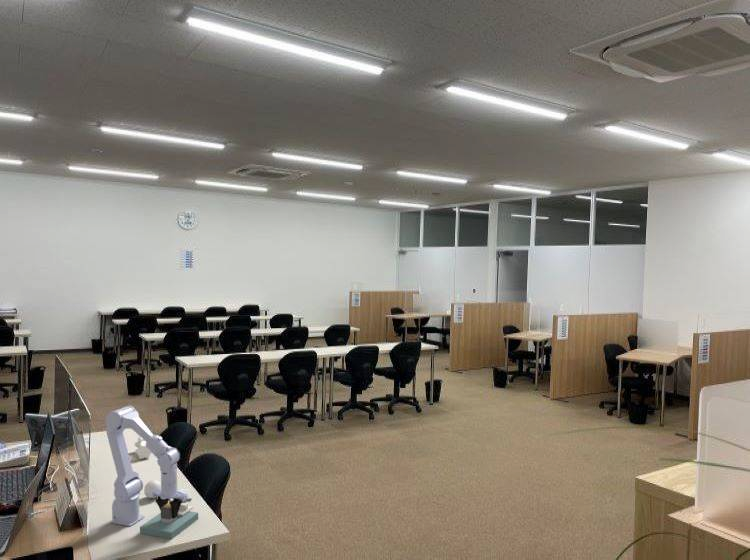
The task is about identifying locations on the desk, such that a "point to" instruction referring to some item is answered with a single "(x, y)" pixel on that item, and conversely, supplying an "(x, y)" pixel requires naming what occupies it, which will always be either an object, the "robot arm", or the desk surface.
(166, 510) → the plug
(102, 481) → the desk surface
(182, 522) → the socket board
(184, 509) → the plate
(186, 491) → the hard drive
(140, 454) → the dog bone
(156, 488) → the white rounded ovoid
